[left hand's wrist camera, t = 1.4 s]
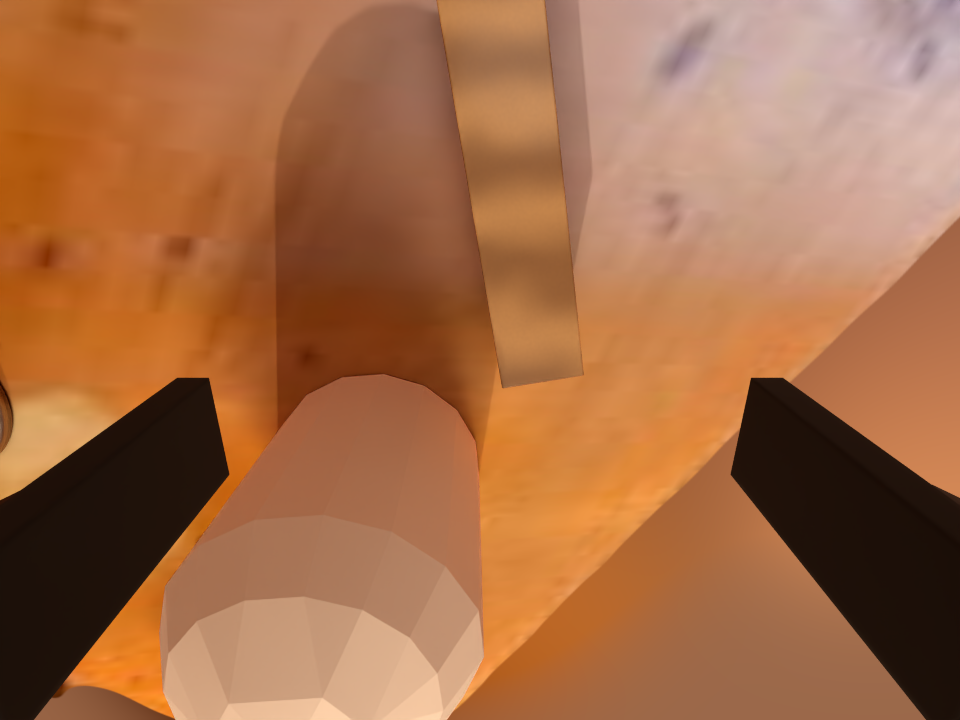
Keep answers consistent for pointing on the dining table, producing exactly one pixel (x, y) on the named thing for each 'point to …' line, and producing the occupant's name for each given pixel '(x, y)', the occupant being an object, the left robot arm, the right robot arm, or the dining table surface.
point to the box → (515, 182)
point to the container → (337, 569)
